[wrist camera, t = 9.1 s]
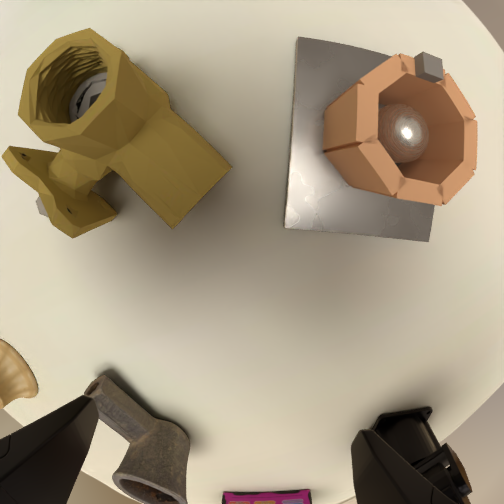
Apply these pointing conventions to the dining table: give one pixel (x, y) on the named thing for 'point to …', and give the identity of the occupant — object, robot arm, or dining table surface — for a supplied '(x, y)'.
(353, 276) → the dining table surface
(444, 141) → the collar
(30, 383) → the hand bell
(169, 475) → the pipe
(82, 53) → the ball valve
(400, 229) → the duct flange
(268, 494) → the candy bar box
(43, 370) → the dining table surface
